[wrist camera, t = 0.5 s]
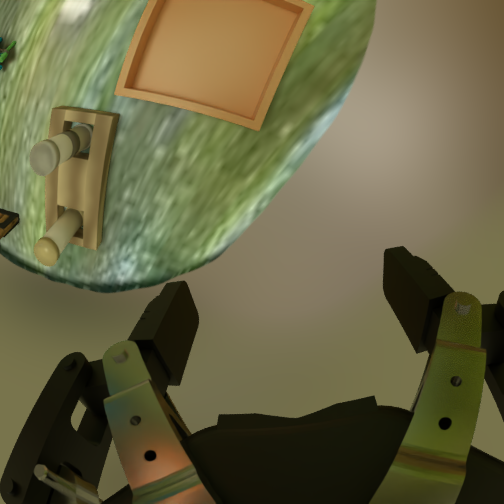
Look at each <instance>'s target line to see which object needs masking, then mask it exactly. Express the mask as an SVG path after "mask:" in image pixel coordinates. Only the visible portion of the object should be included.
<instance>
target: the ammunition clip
mask: <svg viewBox="0 0 504 504" xmlns="http://www.w3.org/2000/svg"><path fill="white" fill-rule="evenodd" d="M18 223H19V214H17V213H14V212H10V211H7V210H4V209H0V239H1V238H2V237H5V236H6V235H7V234H8V233H9V232H10V231H11V230H12V229H13V228H14V227H15V226H16V225H17V224H18Z"/></svg>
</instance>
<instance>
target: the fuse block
mask: <svg viewBox="0 0 504 504" xmlns="http://www.w3.org/2000/svg"><path fill="white" fill-rule="evenodd" d="M119 115H120V114H116V113H111V112H104V111H98V110H91V109H84V108H76V107H68V106H59V107H55V108H52V114H51V120H50V127H49V135H48V139H50V138H52V137H54V136H56V135H57V134H59V133H62V132H64V131H66V130H69V129H71V125H72V121H73V122H79V123H86V124H92V125H94V128H93V133H92V139H91V145H90V152H89V154H87V153H82V152H79V153H77V154H76V155H75V156H73V157H72V158H70V159H69V160H67V161H65V162H63V163H62V164H60V165H59V166H58V167H57V168H56V169H55V170H54V171H52V172H51V173H50V174H48V175H46V176H45V213H46V232H47V231H48V230H49V229H50V228H51V227H52V226H53V224H54V223H55V222H56V221H57V220H58V219H59V218H60V217H61V215H62V214H63V213H64V207H68V208H72V209H76V210H80V211H84V218H83V229H80V228H79V229H78V230H77V231H76V233H75V234H74V235H73V237H72V238H71V240H70V241H69V242H68V243H72V244H75V245H79V246H82V247H86V248H89V249H93V250H97V249H98V247H99V245H100V243H101V242H102V225H103V213H104V202H105V193H106V185H107V178H108V171H109V165H110V158H111V153H112V147H113V142H114V137H115V132H116V128H117V123H118V119H119Z"/></svg>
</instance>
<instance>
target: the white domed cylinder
mask: <svg viewBox="0 0 504 504" xmlns="http://www.w3.org/2000/svg"><path fill="white" fill-rule="evenodd" d="M92 133H93V127H92V126H91V125H90V124H86V123H81V124H79V125H76V126H75V127H74V128H72V129H69V130H66V131H64V132H62V133H59V134H57V135H56V136H54V137H52V138H50V139H46V140H43V141H41V142H39V143H37V144H35V145H34V146H33V148H32V149H31V152H30V165H31V167H32V169H33V171H34V172H35V173H36V174H38V175H40V176H46V175H48V174H50V173H51V172H52V171H54V170H55V169H56V168H57V167H58V166H59V165H60V164H62V163H63V162H65V161H67V160H69V159H70V158H72V157H73V156H75V155H76V154H77V153H79V152H80V151H84V150H86V149H87V148H89V147H90V145H91V139H92Z"/></svg>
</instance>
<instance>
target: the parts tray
mask: <svg viewBox="0 0 504 504" xmlns="http://www.w3.org/2000/svg"><path fill="white" fill-rule="evenodd" d="M314 7H315V6H313V5H311V4H309V3H306V2H304V1H302V0H149V1H148V3H147V5H146V8H145V10H144V12H143V14H142V16H141V19H140V21H139V23H138V26H137V28H136V31H135V33H134V36H133V38H132V41H131V43H130V46H129V49H128V52H127V54H126V57H125V60H124V63H123V66H122V70H121V73H120V76H119V79H118V83H117V86H116V90H115V93H114V95H119V96H125V97H131V98H136V99H141V100H147V101H152V102H156V103H161V104H165V105H170V106H174V107H178V108H182V109H186V110H190V111H194V112H198V113H201V114H205V115H209V116H212V117H216V118H219V119H222V120H226V121H229V122H232V123H235V124H238V125H241V126H244V127H247V128H250V129H253V130H256V131H259V130H260V128H261V125H262V123H263V120H264V118H265V116H266V113H267V111H268V108H269V106H270V104H271V101H272V99H273V97H274V94H275V92H276V90H277V87H278V85H279V83H280V80H281V78H282V76H283V73H284V71H285V69H286V67H287V64H288V62H289V60H290V58H291V55H292V53H293V51H294V49H295V47H296V45H297V42H298V40H299V38H300V36H301V34H302V32H303V29H304V27H305V25H306V23H307V21H308V19H309V17H310V15H311V13H312V11H313V9H314Z"/></svg>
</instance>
